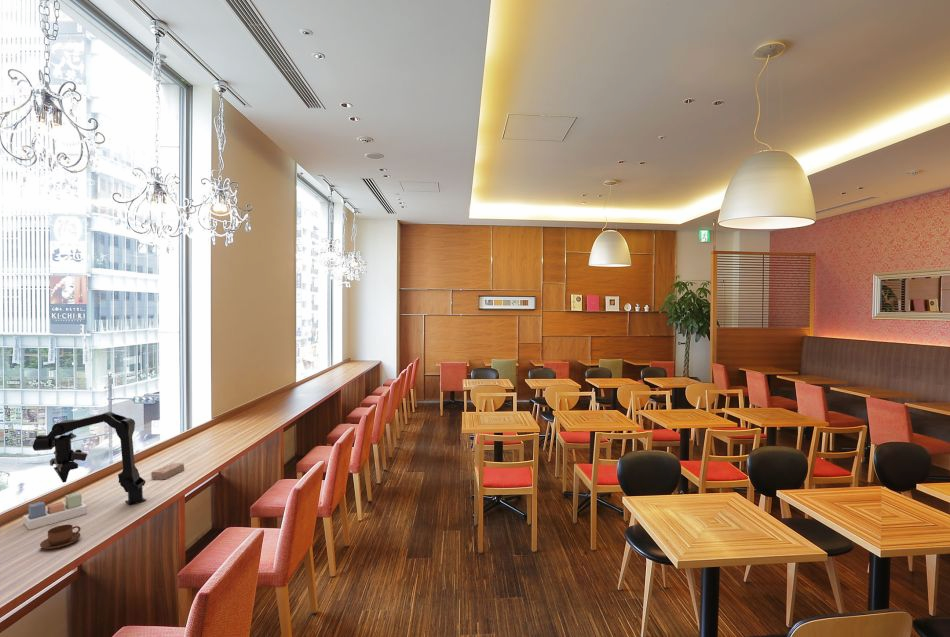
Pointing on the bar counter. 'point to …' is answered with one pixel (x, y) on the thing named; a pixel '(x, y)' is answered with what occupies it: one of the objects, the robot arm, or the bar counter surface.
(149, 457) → the bar counter surface
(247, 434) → the bar counter surface
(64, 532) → the cup and saucer
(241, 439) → the bar counter surface
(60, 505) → the block terracotta
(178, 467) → the brick
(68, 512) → the socket board
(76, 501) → the block sage
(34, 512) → the blue block
